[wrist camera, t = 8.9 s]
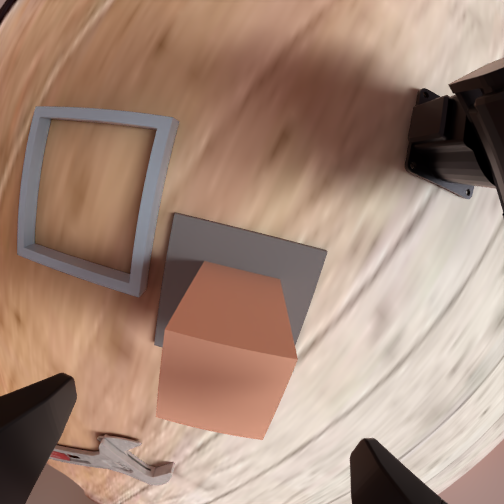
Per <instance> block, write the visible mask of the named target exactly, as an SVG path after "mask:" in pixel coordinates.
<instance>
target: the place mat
mask: <svg viewBox="0 0 504 504" xmlns="http://www.w3.org/2000/svg"><path fill="white" fill-rule="evenodd" d="M326 255H327V251H326V250H323V249H319V248H316V247H312V246H308V245H304V244H300V243H296V242H292V241H289V240H285V239H281V238H277V237H273V236H269V235H265V234H261V233H257V232H253V231H249V230H245V229H241V228H237V227H233V226H229V225H225V224H221V223H217V222H213V221H209V220H205V219H200V218H196V217H192V216H188V215H184V214H179V213H175V214H174V219H173V224H172V229H171V235H170V240H169V245H168V251H167V257H166V263H165V269H164V275H163V282H162V288H161V295H160V302H159V310H158V317H157V325H156V334H155V343H154V345H156V346H159V347H163V340H164V332H165V328H166V326H167V325H168V323H169V321H170V319H171V318H172V316H173V314H174V312H175V311H176V309H177V307H178V305H179V304H180V302H181V300H182V298H183V297H184V295H185V293H186V291H187V290H188V288H189V286H190V285H191V283H192V281H193V279H194V278H195V276H196V274H197V273H198V271H199V269H200V267H201V266H202V264H203V262H204V261H207V262H211V263H215V264H219V265H223V266H227V267H231V268H235V269H239V270H244V271H248V272H252V273H256V274H260V275H264V276H269V277H273V278H277V279H280V281H281V286H282V290H283V295H284V299H285V304H286V308H287V313H288V317H289V322H290V326H291V331H292V335H293V340H294V345H295V344H296V342H297V339H298V336H299V334H300V331H301V328H302V325H303V323H304V320H305V317H306V314H307V312H308V309H309V306H310V303H311V300H312V297H313V294H314V291H315V288H316V285H317V282H318V279H319V276H320V273H321V270H322V267H323V264H324V261H325V258H326Z"/></svg>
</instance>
